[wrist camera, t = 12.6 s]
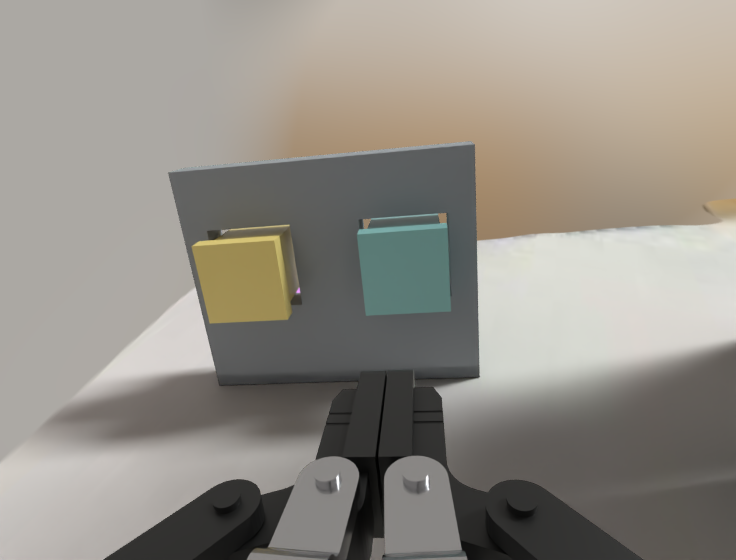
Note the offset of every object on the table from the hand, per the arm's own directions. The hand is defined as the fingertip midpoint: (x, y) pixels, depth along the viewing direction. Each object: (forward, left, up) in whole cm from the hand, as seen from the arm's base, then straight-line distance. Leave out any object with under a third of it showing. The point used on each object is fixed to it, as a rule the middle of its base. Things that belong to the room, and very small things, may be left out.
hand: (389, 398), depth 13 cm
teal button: (0, -15, -3) cm, 15 cm away
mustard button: (+9, -15, -3) cm, 18 cm away
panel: (+4, -17, -9) cm, 20 cm away
